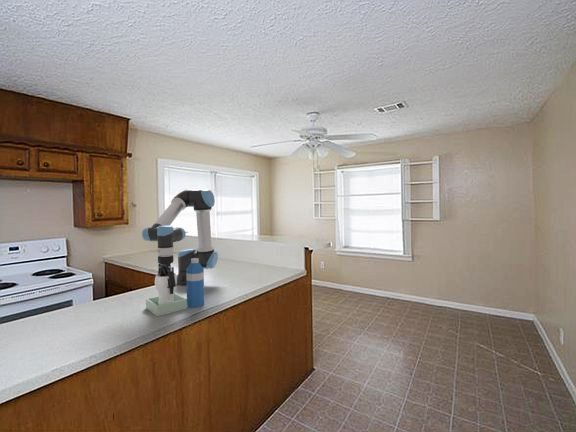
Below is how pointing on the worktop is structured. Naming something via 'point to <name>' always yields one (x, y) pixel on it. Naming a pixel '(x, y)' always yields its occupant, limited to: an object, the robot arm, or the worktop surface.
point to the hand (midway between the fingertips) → (166, 297)
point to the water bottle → (195, 284)
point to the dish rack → (166, 305)
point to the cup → (163, 288)
